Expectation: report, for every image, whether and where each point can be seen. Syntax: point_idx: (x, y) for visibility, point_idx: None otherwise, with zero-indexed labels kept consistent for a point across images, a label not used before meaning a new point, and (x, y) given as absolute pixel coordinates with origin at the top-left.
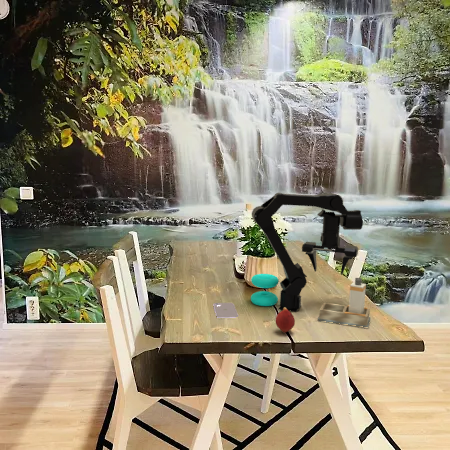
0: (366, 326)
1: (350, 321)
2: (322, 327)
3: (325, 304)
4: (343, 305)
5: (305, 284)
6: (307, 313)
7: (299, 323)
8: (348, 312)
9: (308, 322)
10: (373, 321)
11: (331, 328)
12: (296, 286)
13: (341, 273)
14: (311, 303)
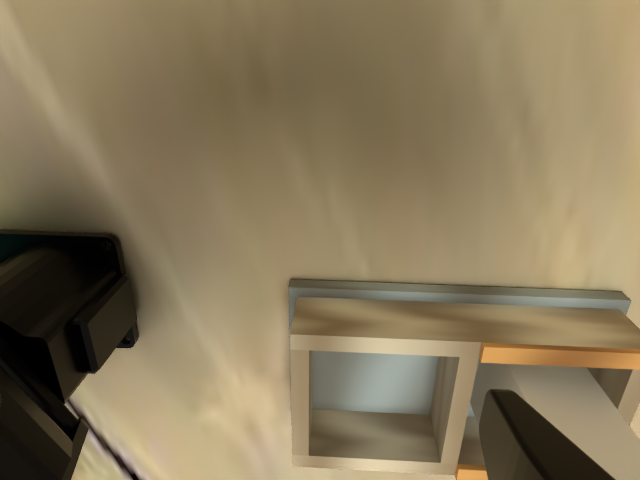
0: None
1: None
2: (333, 473)
3: (309, 362)
4: (448, 346)
5: (65, 467)
6: (206, 329)
7: (215, 464)
8: (483, 473)
9: (252, 442)
10: (636, 315)
11: (378, 471)
12: None
13: (493, 460)
14: (162, 115)
